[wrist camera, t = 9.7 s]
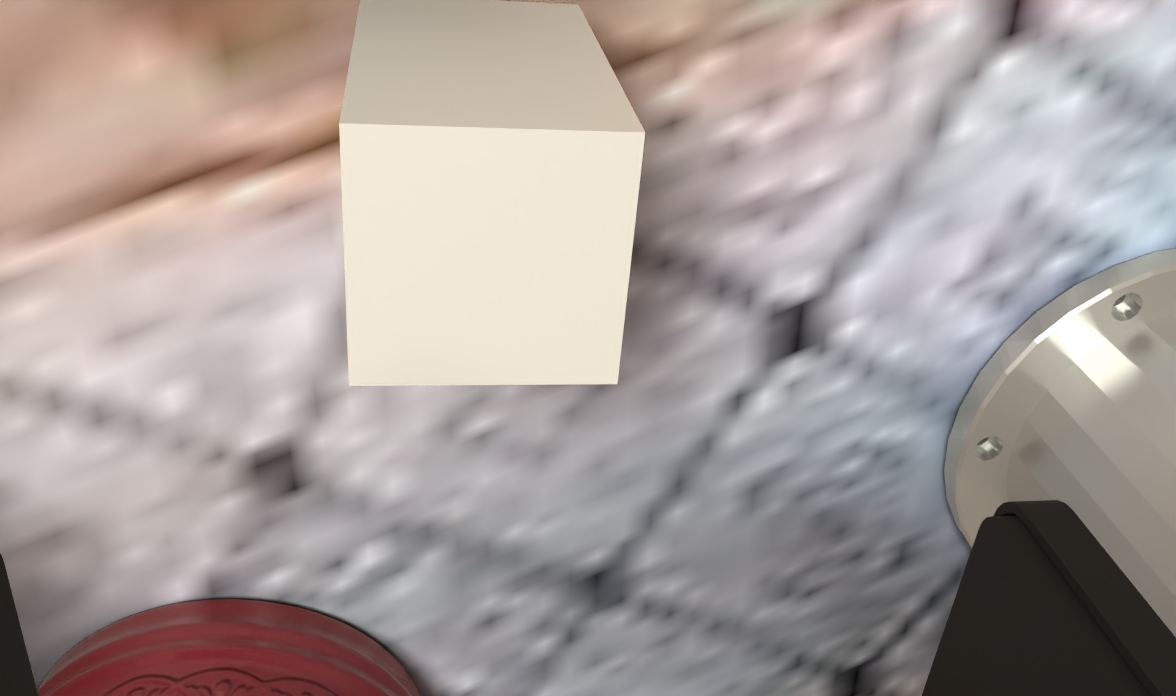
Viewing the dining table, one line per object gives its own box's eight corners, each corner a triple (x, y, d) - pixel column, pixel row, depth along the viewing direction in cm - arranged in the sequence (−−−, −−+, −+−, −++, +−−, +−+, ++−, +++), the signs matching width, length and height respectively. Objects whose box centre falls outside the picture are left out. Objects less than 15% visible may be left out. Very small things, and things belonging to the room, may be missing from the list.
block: (569, -12, 25) (645, 132, 17) (556, 177, 27) (617, 383, 19) (364, -23, 24) (339, 123, 16) (368, 173, 26) (348, 385, 18)
